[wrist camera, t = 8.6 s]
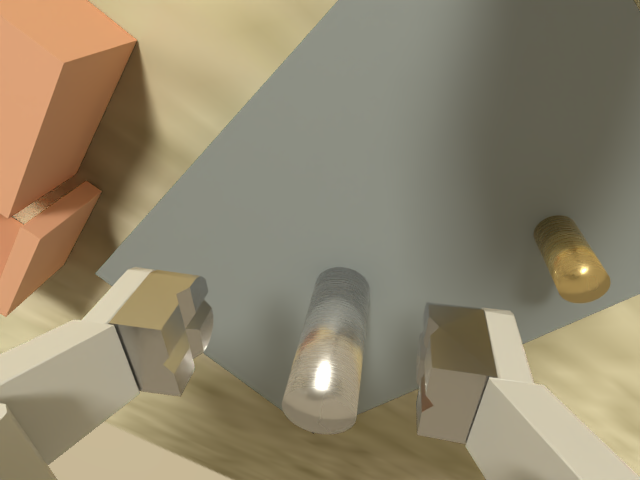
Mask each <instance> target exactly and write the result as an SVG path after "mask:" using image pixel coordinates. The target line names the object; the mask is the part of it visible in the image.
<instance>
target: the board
mask: <svg viewBox="0 0 640 480" xmlns="http://www.w3.org/2000/svg"><path fill="white" fill-rule="evenodd" d="M555 215H563V216H567V217H569V218H571V219H572V220H573V221H574V222H575V223H576V225H577V226H578V228H579V230H580V231H581V233H582V234H583V236H584V237H585V239H586V241H587V242H588V244H589V245H590V247H591V249H592V250H593V252H594V253H595V255H596V256H597V258H598V260H599V261H600V263H601V264H602V266H603V267H604V269H605V271H606V272H607V274H608V275H609V277H610V281H611V284H610V287H609V289H608V291H607V292H606V293H605V294H604V295H603V296H602V297H600V298H599V299H597V300H594V301H591V302H588V303H572V302H569V301H566V300H565V299H563V298H562V297H561V296H560V294H559V292H558V290H557V288H556V286H555V283H554V281H553V279H552V277H551V275H550V272H549V270H548V268H547V266H546V264H545V261H544V259H543V257H542V255H541V253H540V250H539V248H538V246H537V244H536V242H535V239H534V230H535V228H536V226H537V225H538V224H539V223H540V222H541V221H542V220H544V219H546V218H548V217H551V216H555ZM134 267H138V268H145V269H152V270H163V271H170V272H177V273H184V274H191V275H198V276H202V277H203V278H205V279H206V283H207V287H208V291H209V292H208V293H207V295H206V297H205V298H204V300H205V301H206V302H207V303H208V304H209V305H210V306H211V307H212V312H213V330H212V334H211V338H210V341H209V343H208V345H207V347H206V349H205V351H204V352H203V353H204V354H205V355H207V356H208V357H209V358H211V359H212V360H213V361H215V362H216V363H218V364H219V365H220V366H222V367H223V368H224V369H226V370H227V371H228V372H230V373H231V374H233V375H234V376H235V377H237V378H238V379H239V380H241V381H242V382H244V383H245V384H246V385H248V386H249V387H250V388H252V389H253V390H254V391H256V392H257V393H259V394H260V395H261V396H263V397H264V398H265V399H267V400H268V401H269V402H271V403H272V404H274V405H275V406H276V407H278V408H279V409H280V410H282V401H283V397H284V393H285V390H286V386H287V383H288V379H289V376H290V372H291V368H292V365H293V361H294V358H295V354H296V351H297V347H298V343H299V340H300V336H301V333H302V329H303V325H304V322H305V318H306V315H307V311H308V308H309V304H310V300H311V297H312V293H313V290H314V286H315V283H316V280H317V278H318V276H319V275H320V274H321V273H322V272H324V271H325V270H328V269H330V268H335V267H344V268H349V269H352V270H355V271H357V272H358V273H360V274H361V275H362V276H363V277H364V278H365V279H366V280H367V282H368V284H369V286H370V298H369V307H368V316H367V325H366V335H365V344H364V353H363V362H362V371H361V381H360V390H359V399H358V408H357V415H358V414H360V413H363V412H365V411H367V410H370V409H372V408H374V407H377V406H379V405H381V404H384V403H386V402H388V401H391V400H393V399H395V398H398V397H400V396H402V395H405V394H407V393H409V392H412V391H414V390H416V389H419V385H418V384H417V383H416V359H417V350H418V343H419V336H420V334H421V333H422V332H423V315H424V310H425V306H426V303H427V302H430V303H439V304H448V305H457V306H466V307H475V308H490V309H500V310H510V311H511V312H512V313H513V314H514V317H515V320H516V323H517V327H518V330H519V333H520V337H521V340H522V343H523V344H524V343H526V342H529V341H531V340H533V339H536V338H538V337H540V336H543V335H545V334H547V333H550V332H552V331H554V330H557V329H559V328H561V327H564V326H566V325H568V324H571V323H573V322H575V321H578V320H580V319H582V318H585V317H587V316H589V315H592V314H594V313H596V312H599V311H601V310H603V309H606V308H608V307H610V306H613V305H615V304H617V303H620V302H622V301H624V300H627V299H629V298H631V297H634V296H636V295H638V294H640V11H639V9H638V7H637V6H636V4H635V2H634V0H338V1H337V2H336V3H335V5H334V6H333V7H332V8H331V9H330V10H329V11H328V12H327V14H326V15H325V16H324V17H323V18H322V19H321V20H320V21H319V22H318V24H317V25H316V26H315V27H314V28H313V29H312V30H311V31H310V33H309V34H308V35H307V36H306V37H305V38H304V39H303V40H302V42H301V43H300V44H299V45H298V46H297V47H296V48H295V49H294V51H293V52H292V53H291V54H290V55H289V56H288V57H287V58H286V60H285V61H284V62H283V63H282V64H281V65H280V66H279V67H278V69H277V70H276V71H275V72H274V73H273V74H272V75H271V76H270V78H269V79H268V80H267V81H266V82H265V83H264V84H263V85H262V87H261V88H260V89H259V90H258V91H257V92H256V93H255V94H254V96H253V97H252V98H251V99H250V100H249V101H248V102H247V103H246V104H245V106H244V107H243V108H242V109H241V110H240V111H239V112H238V113H237V115H236V116H235V117H234V118H233V119H232V120H231V121H230V122H229V124H228V125H227V126H226V127H225V128H224V129H223V130H222V131H221V133H220V134H219V135H218V136H217V137H216V138H215V139H214V140H213V142H212V143H211V144H210V145H209V146H208V147H207V148H206V149H205V151H204V152H203V153H202V154H201V155H200V156H199V157H198V158H197V160H196V161H195V162H194V163H193V164H192V165H191V166H190V167H189V169H188V170H187V171H186V172H185V173H184V174H183V175H182V176H181V178H180V179H179V180H178V181H177V182H176V183H175V184H174V185H173V187H172V188H171V189H170V190H169V191H168V192H167V193H166V194H165V195H164V197H163V198H162V199H161V200H160V201H159V202H158V203H157V204H156V206H155V207H154V208H153V209H152V210H151V211H150V212H149V213H148V215H147V216H146V217H145V218H144V219H143V220H142V221H141V222H140V224H139V225H138V226H137V227H136V228H135V229H134V230H133V231H132V233H131V234H130V235H129V236H128V237H127V238H126V239H125V240H124V242H123V243H122V244H121V245H120V246H119V247H118V248H117V249H116V251H115V252H114V253H113V254H112V255H111V256H110V257H109V258H108V260H107V261H106V262H105V263H104V264H103V265H102V266H101V267H100V269H99V270H98V271H97V272H96V273H95V274H96V275H97V276H99V277H100V278H101V279H103V280H104V281H105V282H107V283H108V284H110V285H111V286H113V285H114V284H115V283H116V282H117V281H118V279H119V278H120V277H121V276H122V275H123V274H124V273H125V272H126V271H127V270H128V269H131V268H134ZM282 411H283V410H282ZM312 433H313V434H314V432H312Z"/></svg>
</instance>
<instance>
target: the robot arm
mask: <svg viewBox="0 0 640 480" xmlns="http://www.w3.org/2000/svg"><path fill="white" fill-rule="evenodd" d="M208 292H209V291H208V287H207V283H206V279H205V278H203V277H202V276H198V275H191V274H184V273H177V272H170V271H163V270H152V269H145V268H138V267H134V268H131V269H128V270H127V271H126V272H125V273H124V274H123V275H122V276H121V277H120V278H119V279H118V281H117V282H116V283H115V284H114V285H113V286H112V287H111V288H110V289H109V290H108V291H107V293H106V294H105V295H104V296H103V297H102V298H101V299H100V300H99V301H98V302H97V303H96V305H95V306H94V307H93V308H92V309H91V310H90V311H89V312H88V313H87V314H86V315H85V317H84V318H83V319H82V320H71V321H69V322H67V323H65V324H63V325H61V326H59V327H57V328H55V329H52V330H50V331H48V332H46V333H44V334H42V335H40V336H38V337H35V338H33V339H31V340H29V341H27V342H25V343H23V344H21V345H18V346H16V347H14V348H12V349H10V350H8V351H6V352H4V353H1V354H0V480H57V478H56V477H55V475H54V474H53V472H52V471H51V470H50V468H49V467H48V465H49V464H50V463H51V462H53V461H54V460H55V459H56V458H58V457H59V456H60V455H62V454H63V453H64V452H66V451H67V450H68V449H69V448H71V447H72V446H73V445H75V444H76V443H77V442H78V441H79V440H81V439H82V438H83V437H85V436H86V435H87V434H89V433H90V432H91V431H92V430H94V429H95V428H96V427H98V426H99V425H100V424H101V423H103V422H104V421H105V420H107V419H108V418H109V417H110V416H112V415H113V414H114V413H116V412H117V411H118V410H119V409H121V408H122V407H123V406H125V405H126V404H127V403H128V402H130V401H131V400H132V399H134V398H135V397H136V396H137V395H139V394H140V392H139V391H143V392H151V393H158V394H166V395H173V396H181V395H182V393H183V391H184V389H185V387H186V385H187V383H188V382H189V380H190V378H191V376H192V374H193V372H194V370H195V366H194V362H193V359H194V358H195V357H197V356H198V355H200V354H201V353H203V352H204V351H205V349H206V347H207V345H208V343H209V341H210V338H211V334H212V330H213V312H212V307H211V306H210V305H209V304H208V303H207V302H206V301H205V300H204V298H205V297H206V295H207V293H208ZM416 383H417V384H418V385H419V391H418V396H417V402H416V410H417V435H420V436H425V437H431V438H436V439H441V440H447V441H452V442H457V443H462V444H466V446H465V447H466V449H467V450H468V452H469V453H470V455H471V457H472V458H473V460H474V461H475V463H476V464H477V466H478V468H479V469H480V471H481V472H482V474H483V476H484V477H485V479H486V480H640V477H639V476H638V475H637V474H636V473H635V472H634V471H633V470H632V469H631V468H630V467H629V466H628V465H627V464H626V463H625V462H624V461H623V460H622V459H621V458H620V457H619V456H618V455H616V454H615V453H614V452H613V451H612V450H611V449H610V448H609V447H608V446H607V445H606V444H605V443H604V442H603V441H602V440H601V439H600V438H599V437H598V436H597V435H596V434H595V433H594V432H592V431H591V430H590V429H589V428H588V427H587V426H586V425H585V424H584V423H583V422H582V421H581V420H580V419H579V418H578V417H577V416H576V415H575V414H574V413H573V412H572V411H571V410H570V409H568V408H567V407H566V406H565V405H564V404H563V403H562V402H561V401H560V400H559V399H558V398H557V397H556V396H555V395H554V394H553V393H552V392H551V391H550V390H549V389H548V388H547V387H546V386H544V385H541V384H535V383H534V380H533V377H532V373H531V370H530V367H529V363H528V360H527V357H526V353H525V350H524V347H523V343H522V340H521V337H520V333H519V330H518V327H517V323H516V320H515V317H514V314H513V313H512V312H511V311H510V310H500V309H490V308H475V307H466V306H457V305H448V304H439V303H430V302H427V303H426V306H425V310H424V315H423V332H422V333H421V334H420V336H419V343H418V350H417V359H416Z"/></svg>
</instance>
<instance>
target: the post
mask: <svg viewBox="0 0 640 480" xmlns="http://www.w3.org/2000/svg"><path fill="white" fill-rule="evenodd" d="M534 239H535V242H536V244H537V246H538V248H539V250H540V253H541V255H542V257H543V259H544V261H545V264H546V266H547V268H548V270H549V272H550V275H551V277H552V279H553V281H554V283H555V286H556V288H557V290H558V292H559V294H560V296H561V297H562V298H563V299H565V300H566V301H569V302H572V303H588V302H591V301H594V300H597V299H599V298H600V297H602V296H603V295H604V294H605V293H606V292H607V291H608V289H609V287H610V284H611V281H610V277H609V275H608V274H607V272H606V271H605V269H604V267H603V266H602V264H601V263H600V261H599V260H598V258H597V256H596V255H595V253H594V252H593V250H592V249H591V247H590V245H589V244H588V242H587V241H586V239H585V237H584V236H583V234H582V233H581V231H580V230H579V228H578V226H577V225H576V223H575V222H574V221H573V220H572V219H571V218H569V217H567V216H563V215H555V216H551V217H548V218H546V219H544V220H542V221H541V222H540V223H539V224H538V225H537V226H536V228H535V230H534ZM369 298H370V286H369V284H368V282H367V280H366V279H365V278H364V277H363V276H362V275H361V274H360V273H358V272H357V271H355V270H352V269H349V268H344V267H335V268H330V269H328V270H325V271H324V272H322V273H321V274H320V275H319V276H318V278H317V280H316V283H315V286H314V290H313V293H312V297H311V300H310V304H309V308H308V311H307V315H306V318H305V322H304V325H303V329H302V333H301V336H300V340H299V343H298V347H297V351H296V354H295V358H294V361H293V365H292V368H291V372H290V376H289V379H288V383H287V386H286V390H285V393H284V397H283V401H282V410H283V412H284V414H285V416H286V417H287V418H288V419H289V420H290V421H291V422H292V423H294V424H295V425H297V426H298V427H300V428H302V429H304V430H307V431H310V432H314V433H318V434H337V433H342V432H344V431H347V430H348V429H350V428H351V427H352V426H353V425H354V424H355V422H356V418H357V408H358V399H359V390H360V381H361V371H362V362H363V353H364V344H365V335H366V325H367V316H368V307H369Z"/></svg>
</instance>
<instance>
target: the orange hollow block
mask: <svg viewBox="0 0 640 480" xmlns="http://www.w3.org/2000/svg"><path fill="white" fill-rule="evenodd" d="M136 42H137V40H136V39H135V38H134V37H133V36H131V35H130V34H129V33H128V32H126V31H125V30H124V29H123V28H121V27H120V26H119V25H118V24H116V23H115V22H114V21H113V20H111V19H110V18H109V17H108V16H106V15H105V14H104V13H103V12H101V11H100V10H99V9H98V8H96V7H95V6H94V5H93V4H91V3H90V2H89V1H88V0H0V314H2V315H4V316H5V317H6V316H7V315H9V314H10V313H11V312H12V311H13V310H14V309H15V308H16V307H17V306H19V305H20V304H21V303H22V302H23V301H24V300H25V299H26V298H27V297H29V296H30V295H31V294H32V293H33V292H34V291H35V290H36V289H37V288H39V287H40V286H41V285H42V284H43V283H44V282H45V281H46V280H47V279H49V278H50V277H51V276H52V275H53V274H54V273H55V272H56V271H57V270H59V269H60V268H61V267H62V266H63V265H64V264H65V262H66V260H67V258H68V256H69V254H70V252H71V250H72V248H73V246H74V245H75V243H76V241H77V239H78V237H79V235H80V233H81V231H82V229H83V227H84V225H85V223H86V221H87V220H88V218H89V216H90V214H91V212H92V210H93V208H94V206H95V204H96V202H97V200H98V198H99V196H100V194H101V193H102V191H101V190H99V189H98V188H96V187H95V186H93V185H92V184H90V183H89V182H88V181H85V182H84V183H82V184H81V185H79V186H78V187H77V188H75V189H74V190H72V191H71V192H69V193H68V194H67V195H65V196H64V197H62V198H61V199H59V200H58V201H57V202H55V203H54V204H52V205H51V206H49V207H48V208H47V209H45V210H44V211H42V212H41V213H39V214H38V215H37V216H35V217H34V218H32V219H31V220H29V221H28V222H27V223H25V224H24V225H23V224H22V223H20V222H19V221H17V220H16V219H14V218H12V217H11V216H13V215H15V214H16V213H18V212H19V211H21V210H22V209H24V208H25V207H27V206H28V205H30V204H31V203H33V202H34V201H36V200H37V199H39V198H40V197H42V196H43V195H45V194H46V193H48V192H50V191H51V190H53V189H54V188H56V187H57V186H59V185H60V184H62V183H63V182H65V181H66V180H68V179H69V178H71V177H72V176H74V175H75V174H77V171H78V169H79V167H80V165H81V163H82V160H83V158H84V156H85V154H86V152H87V149H88V147H89V145H90V143H91V141H92V138H93V136H94V134H95V132H96V130H97V127H98V125H99V123H100V121H101V119H102V116H103V114H104V112H105V110H106V108H107V105H108V103H109V101H110V99H111V97H112V94H113V92H114V90H115V88H116V86H117V83H118V81H119V79H120V77H121V75H122V72H123V70H124V68H125V66H126V64H127V61H128V59H129V57H130V55H131V53H132V50H133V48H134V46H135V44H136Z"/></svg>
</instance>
